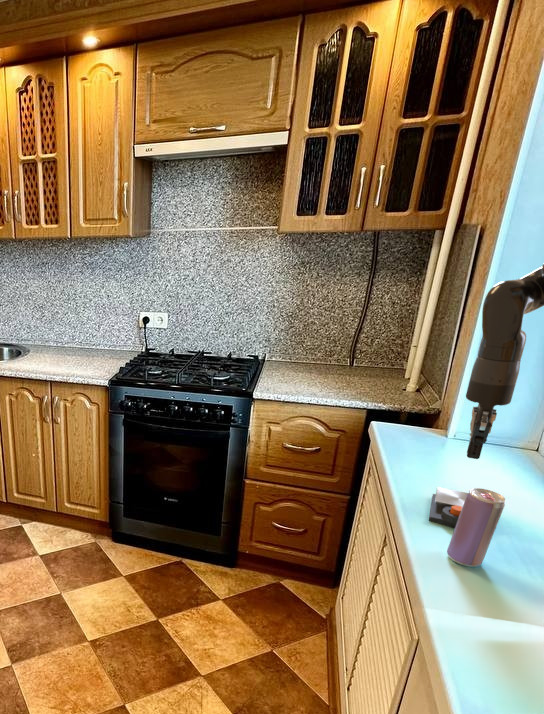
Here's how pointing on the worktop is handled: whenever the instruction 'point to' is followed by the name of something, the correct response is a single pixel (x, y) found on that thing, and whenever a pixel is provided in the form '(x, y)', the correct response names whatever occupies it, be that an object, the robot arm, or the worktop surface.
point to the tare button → (456, 510)
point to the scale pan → (450, 497)
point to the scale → (442, 514)
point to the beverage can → (475, 527)
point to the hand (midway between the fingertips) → (472, 456)
